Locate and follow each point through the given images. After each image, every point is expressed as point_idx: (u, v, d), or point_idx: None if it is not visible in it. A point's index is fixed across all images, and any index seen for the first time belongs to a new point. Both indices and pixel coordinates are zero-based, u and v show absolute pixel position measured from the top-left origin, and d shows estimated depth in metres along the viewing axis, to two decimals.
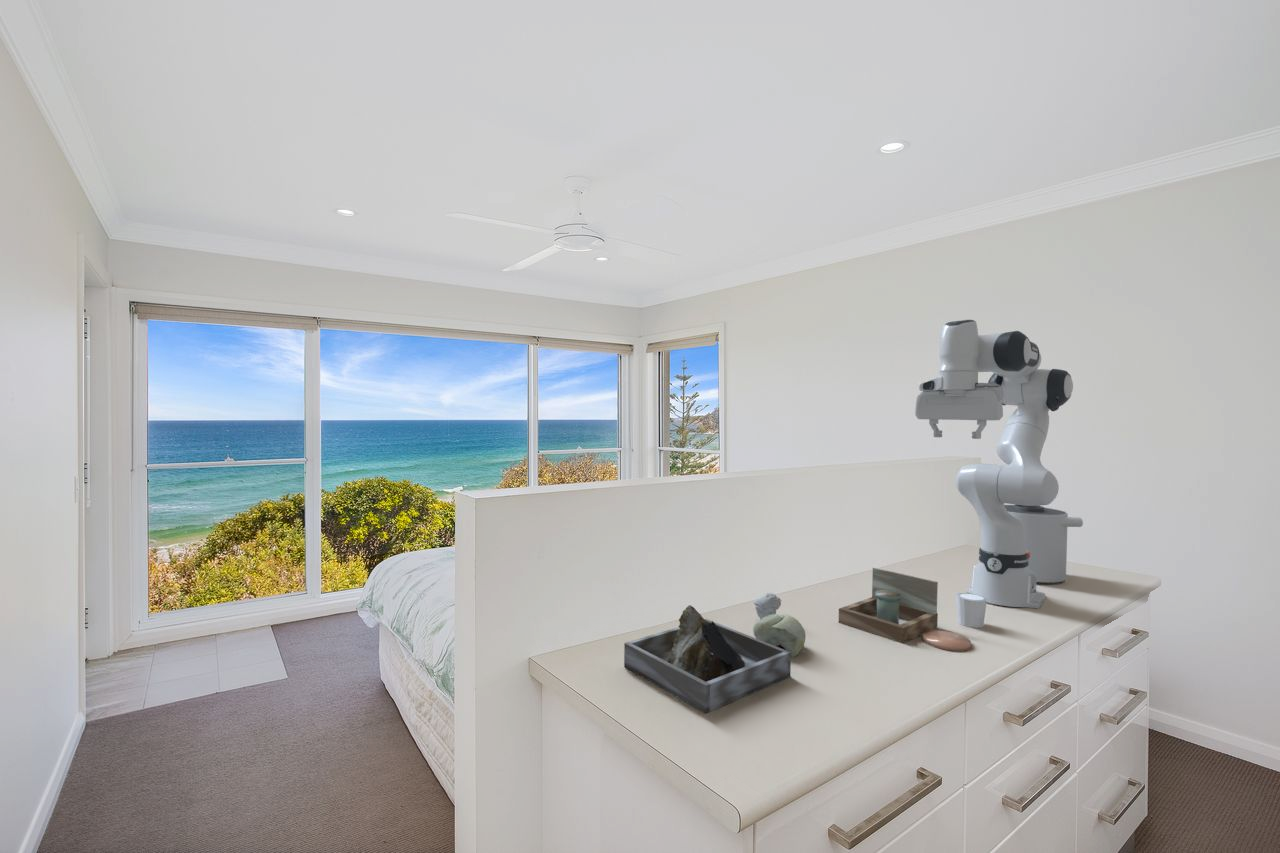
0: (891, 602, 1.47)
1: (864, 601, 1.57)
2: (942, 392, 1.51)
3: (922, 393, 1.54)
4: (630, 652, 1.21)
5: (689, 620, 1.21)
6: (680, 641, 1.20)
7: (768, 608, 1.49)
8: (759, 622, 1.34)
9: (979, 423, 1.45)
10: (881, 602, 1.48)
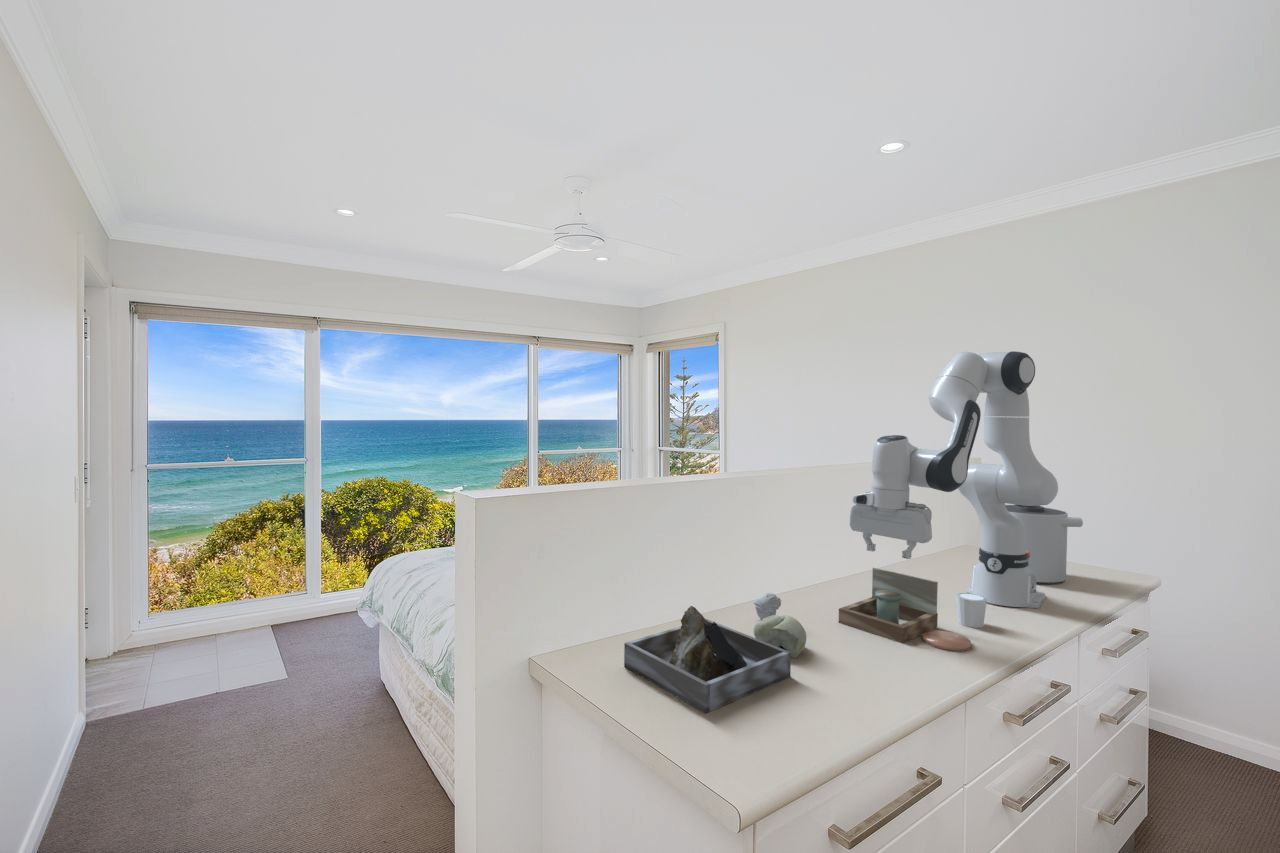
0: (891, 602, 1.47)
1: (864, 601, 1.57)
2: (874, 507, 1.50)
3: (856, 506, 1.53)
4: (630, 652, 1.21)
5: (691, 621, 1.21)
6: (682, 642, 1.20)
7: (768, 608, 1.49)
8: (760, 623, 1.34)
9: (909, 544, 1.44)
10: (881, 602, 1.48)
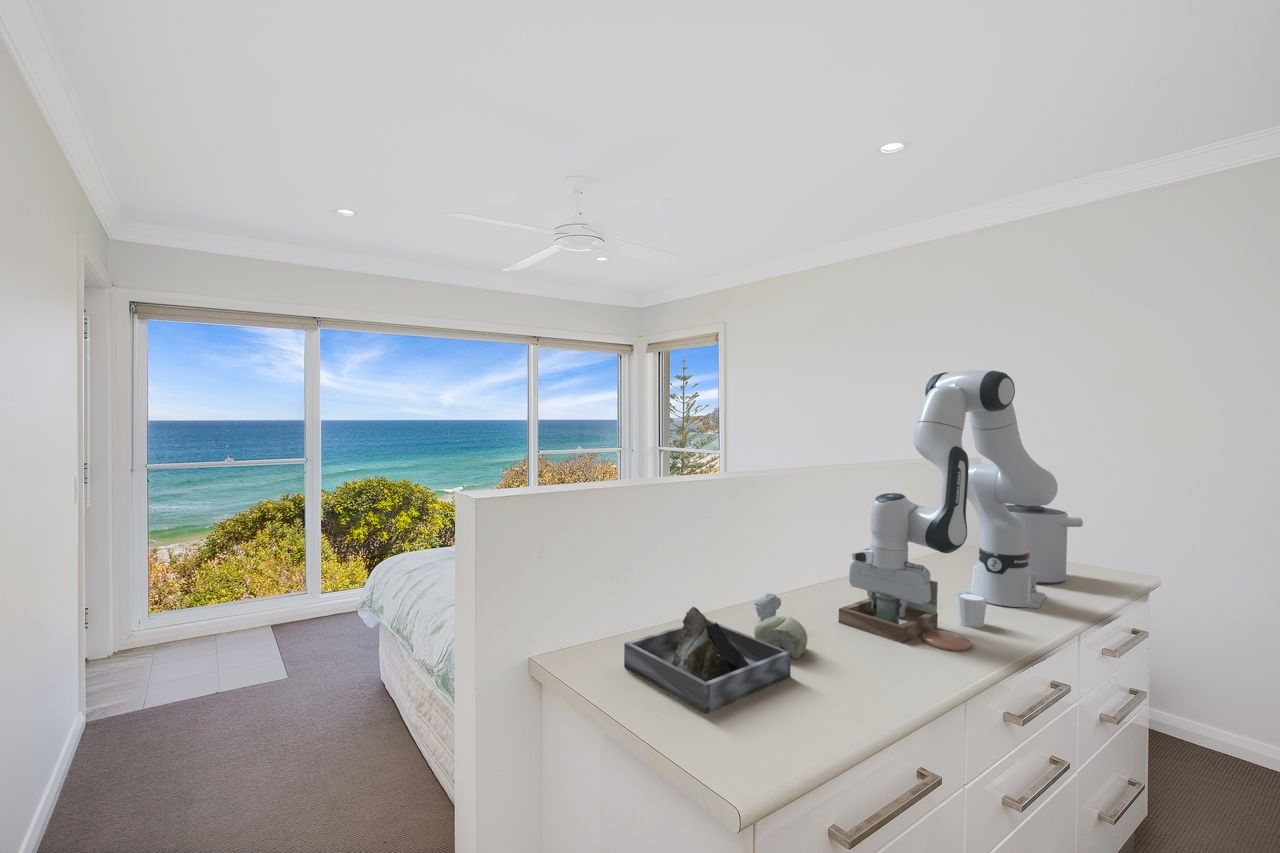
0: (891, 602, 1.47)
1: (864, 601, 1.57)
2: (873, 565, 1.50)
3: (855, 562, 1.53)
4: (630, 652, 1.21)
5: (693, 622, 1.20)
6: (684, 643, 1.19)
7: (768, 608, 1.49)
8: (760, 624, 1.33)
9: (902, 602, 1.45)
10: (881, 602, 1.48)
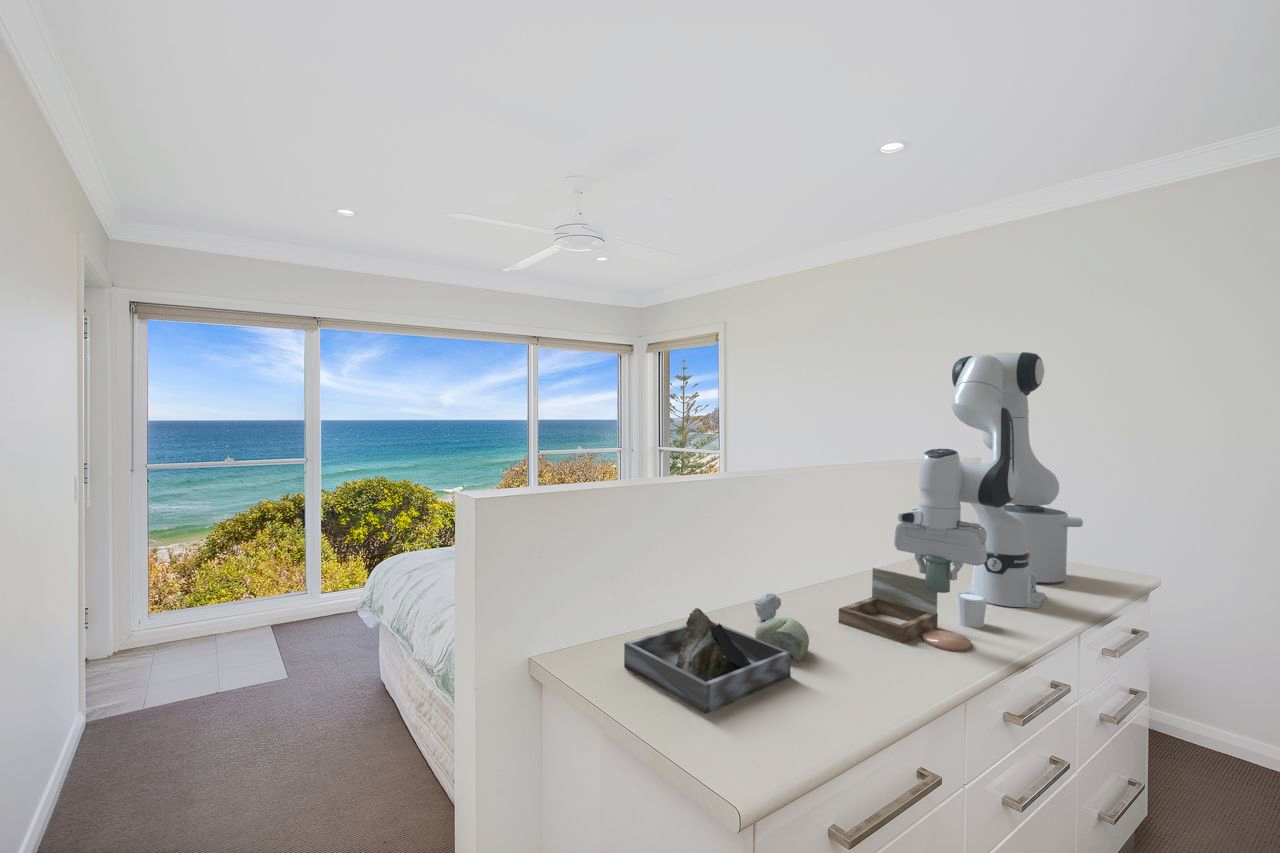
0: (943, 564, 1.37)
1: (864, 601, 1.57)
2: (922, 526, 1.40)
3: (901, 524, 1.44)
4: (630, 652, 1.21)
5: (697, 623, 1.20)
6: (688, 644, 1.18)
7: (768, 608, 1.49)
8: (762, 626, 1.32)
9: (955, 564, 1.35)
10: (931, 565, 1.38)
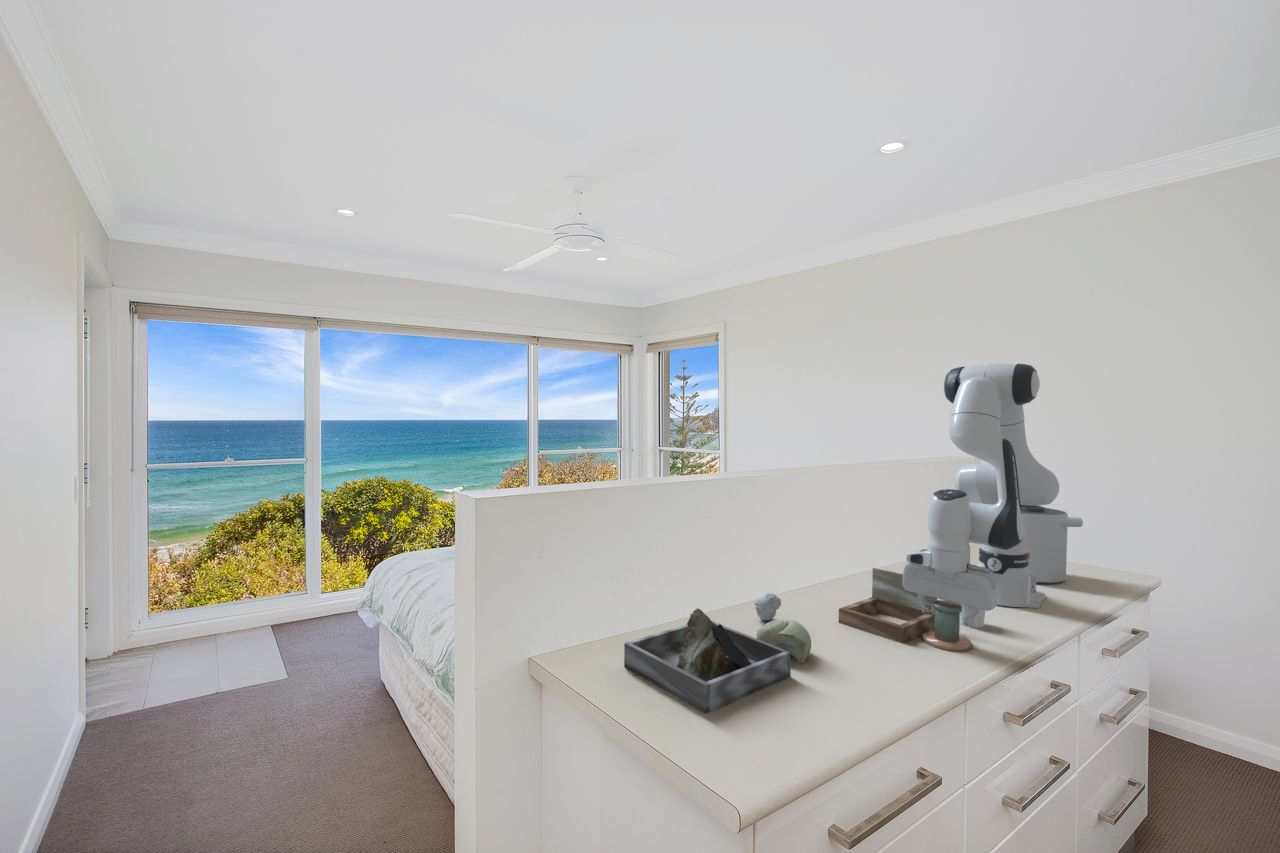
0: (952, 614, 1.35)
1: (864, 601, 1.57)
2: (931, 568, 1.39)
3: (910, 565, 1.42)
4: (630, 652, 1.21)
5: (698, 624, 1.19)
6: (690, 645, 1.18)
7: (768, 608, 1.49)
8: (764, 629, 1.30)
9: (971, 610, 1.33)
10: (940, 614, 1.36)
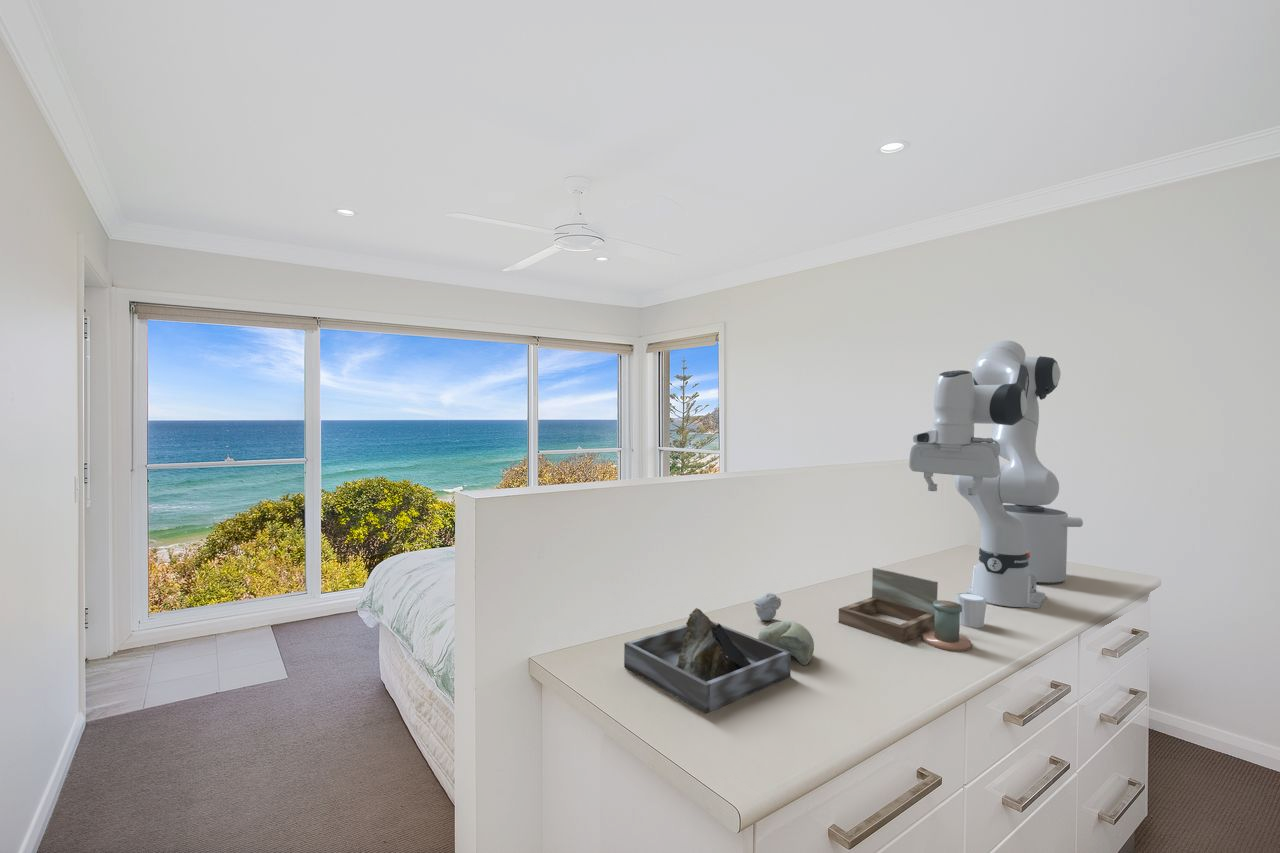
0: (952, 614, 1.35)
1: (864, 601, 1.57)
2: (937, 445, 1.45)
3: (916, 445, 1.49)
4: (630, 652, 1.21)
5: (697, 624, 1.19)
6: (689, 645, 1.18)
7: (768, 608, 1.49)
8: (766, 631, 1.29)
9: (975, 480, 1.39)
10: (940, 614, 1.36)
